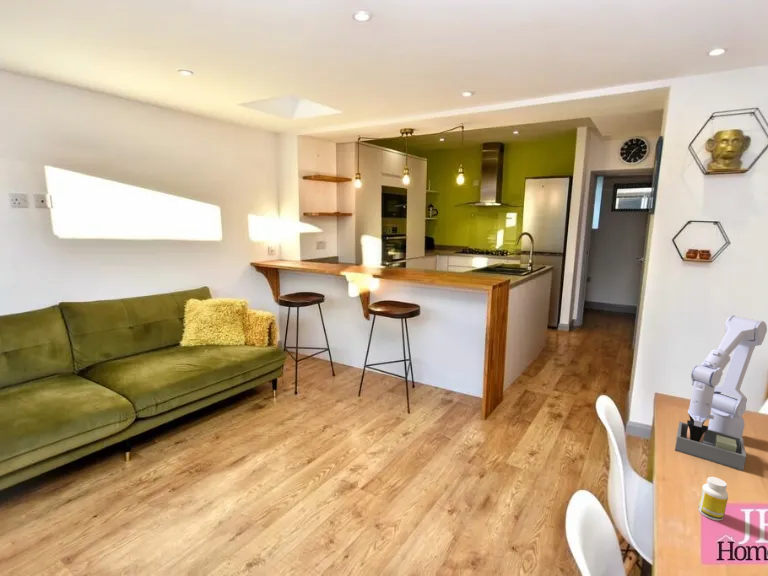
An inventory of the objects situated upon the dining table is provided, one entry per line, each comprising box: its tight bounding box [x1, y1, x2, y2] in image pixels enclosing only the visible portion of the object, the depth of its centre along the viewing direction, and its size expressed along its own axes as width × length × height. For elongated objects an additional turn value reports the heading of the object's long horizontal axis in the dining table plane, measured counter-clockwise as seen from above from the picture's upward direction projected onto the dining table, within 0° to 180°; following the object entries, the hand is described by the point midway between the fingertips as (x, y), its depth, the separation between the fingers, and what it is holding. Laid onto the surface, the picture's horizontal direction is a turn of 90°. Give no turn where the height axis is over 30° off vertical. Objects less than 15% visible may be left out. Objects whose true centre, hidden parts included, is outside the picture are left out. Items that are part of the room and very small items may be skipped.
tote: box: [674, 420, 747, 472], centre depth 139 cm, size 18×14×5 cm
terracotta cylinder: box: [686, 427, 704, 443], centre depth 141 cm, size 5×5×7 cm
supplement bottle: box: [698, 476, 729, 521], centre depth 109 cm, size 5×5×10 cm
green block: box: [714, 435, 737, 453], centre depth 136 cm, size 5×5×5 cm
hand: (694, 437), depth 141 cm, fingers open, 7 cm apart
